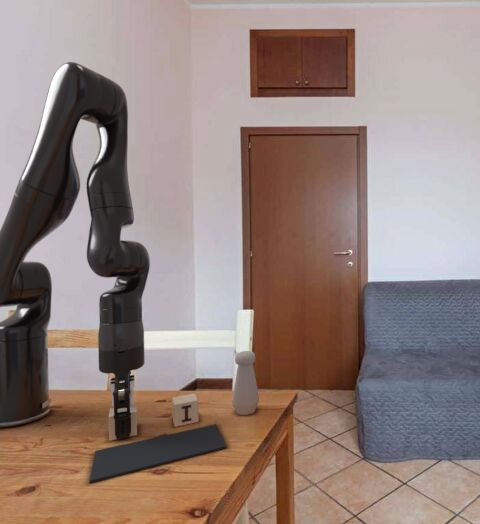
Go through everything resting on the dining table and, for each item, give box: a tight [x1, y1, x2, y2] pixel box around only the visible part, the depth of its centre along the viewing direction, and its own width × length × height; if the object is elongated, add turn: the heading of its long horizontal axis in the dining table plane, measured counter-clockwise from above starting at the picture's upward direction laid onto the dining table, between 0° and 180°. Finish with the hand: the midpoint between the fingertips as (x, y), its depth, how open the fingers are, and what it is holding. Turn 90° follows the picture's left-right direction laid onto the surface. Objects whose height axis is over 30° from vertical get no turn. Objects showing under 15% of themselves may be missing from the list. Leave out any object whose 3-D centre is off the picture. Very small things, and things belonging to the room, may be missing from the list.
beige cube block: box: [171, 393, 199, 428], centre depth 77 cm, size 4×5×4 cm
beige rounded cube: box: [108, 403, 138, 442], centre depth 72 cm, size 4×5×4 cm
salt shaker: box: [231, 350, 260, 416], centre depth 82 cm, size 6×6×13 cm
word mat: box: [88, 423, 227, 484], centre depth 65 cm, size 20×10×1 cm, turn 120°
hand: (123, 431), depth 72 cm, fingers closed on beige rounded cube, 4 cm apart
